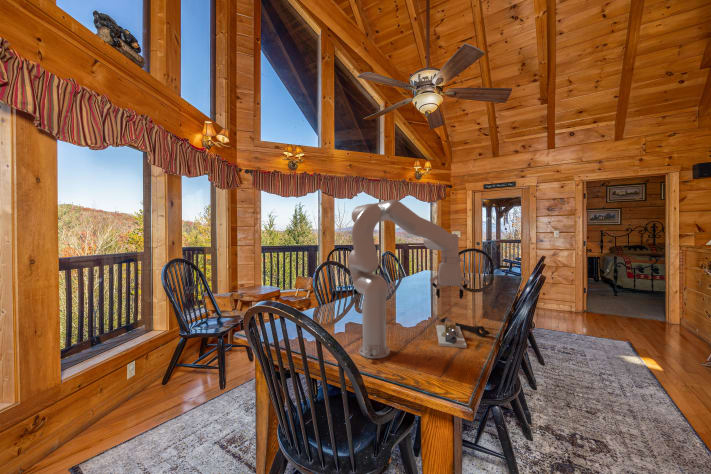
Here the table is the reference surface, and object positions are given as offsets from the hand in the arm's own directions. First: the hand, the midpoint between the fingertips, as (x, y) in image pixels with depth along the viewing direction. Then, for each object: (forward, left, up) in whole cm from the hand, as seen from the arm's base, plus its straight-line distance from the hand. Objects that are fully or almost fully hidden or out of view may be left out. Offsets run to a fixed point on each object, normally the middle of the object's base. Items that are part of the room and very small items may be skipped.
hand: (449, 297), depth 132 cm
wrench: (+14, -8, -19) cm, 25 cm away
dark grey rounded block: (-8, 0, -17) cm, 19 cm away
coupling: (0, 0, -17) cm, 17 cm away
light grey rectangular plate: (+1, 0, -18) cm, 18 cm away
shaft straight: (+9, 0, -17) cm, 19 cm away
